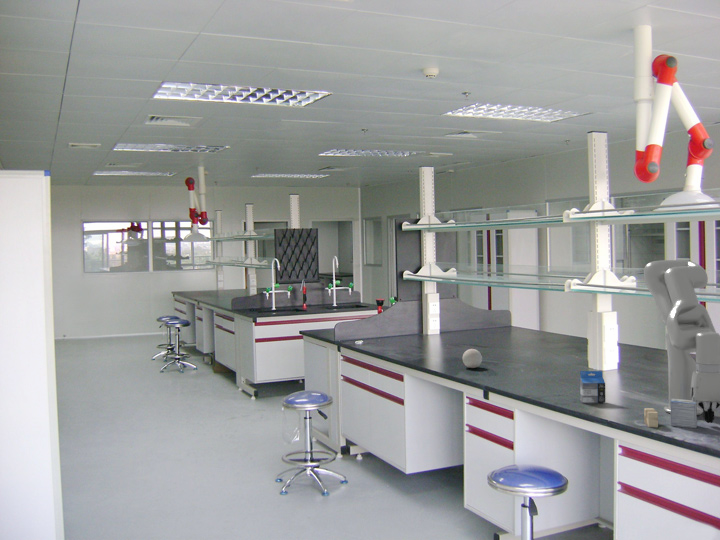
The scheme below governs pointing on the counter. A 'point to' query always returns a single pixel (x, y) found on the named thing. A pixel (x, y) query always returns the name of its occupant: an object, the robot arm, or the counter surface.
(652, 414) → the bench stop
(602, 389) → the blue and grey box
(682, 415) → the medicine box
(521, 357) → the counter surface
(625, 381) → the counter surface
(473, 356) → the grey felt ball
